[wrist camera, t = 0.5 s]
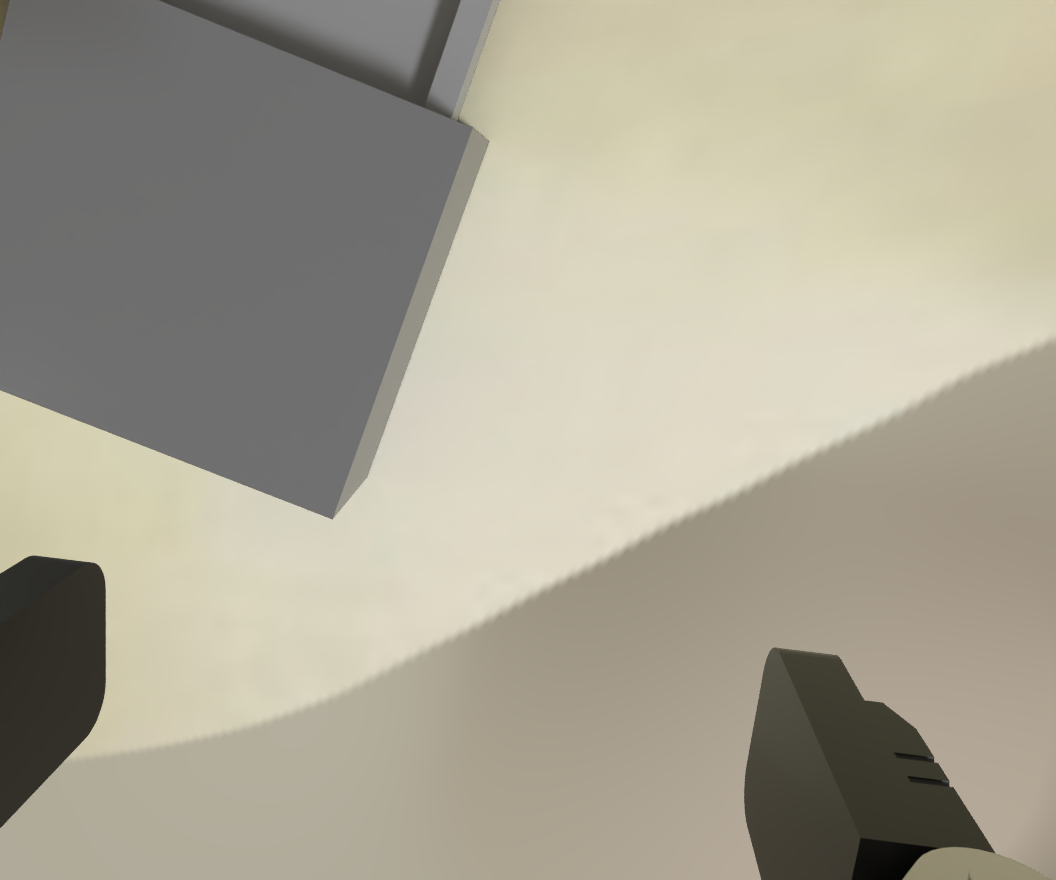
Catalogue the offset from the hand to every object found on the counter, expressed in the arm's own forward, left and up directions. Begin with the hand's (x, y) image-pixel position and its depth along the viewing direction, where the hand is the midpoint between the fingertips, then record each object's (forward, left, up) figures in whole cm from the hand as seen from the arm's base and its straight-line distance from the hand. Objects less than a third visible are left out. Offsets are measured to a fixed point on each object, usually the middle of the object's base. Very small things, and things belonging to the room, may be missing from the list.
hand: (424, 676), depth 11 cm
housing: (0, -12, -27) cm, 29 cm away
